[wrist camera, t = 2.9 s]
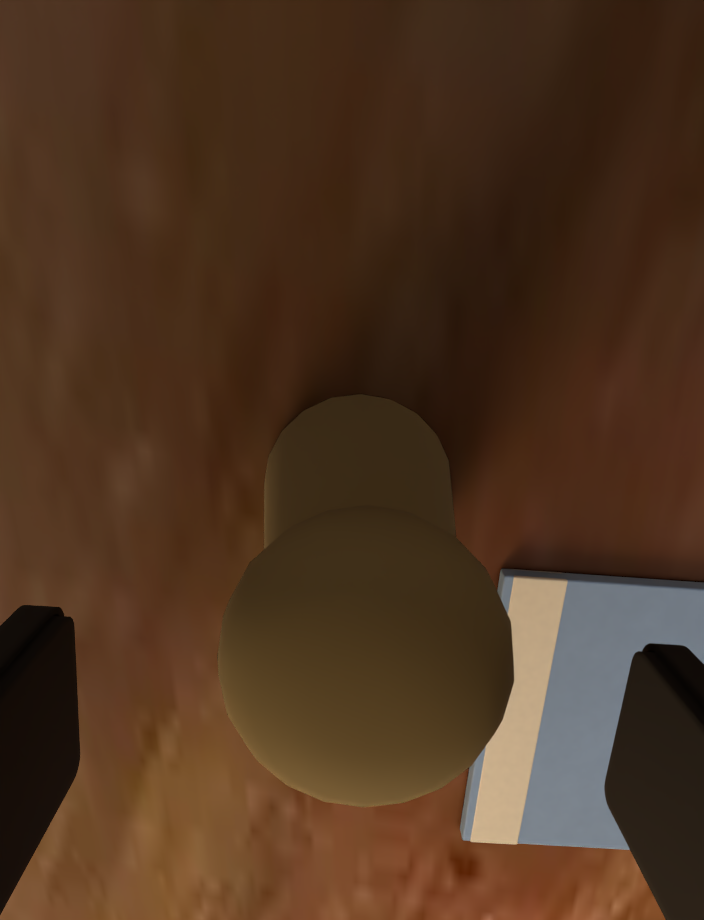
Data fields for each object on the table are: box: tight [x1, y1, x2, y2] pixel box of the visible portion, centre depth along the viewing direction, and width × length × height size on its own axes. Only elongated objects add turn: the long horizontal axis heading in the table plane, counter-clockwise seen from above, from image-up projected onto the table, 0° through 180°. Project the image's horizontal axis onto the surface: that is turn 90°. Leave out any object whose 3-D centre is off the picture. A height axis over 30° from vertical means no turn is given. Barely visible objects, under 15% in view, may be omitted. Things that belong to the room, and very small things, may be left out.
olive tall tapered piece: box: [217, 394, 514, 807], centre depth 15 cm, size 6×6×11 cm
